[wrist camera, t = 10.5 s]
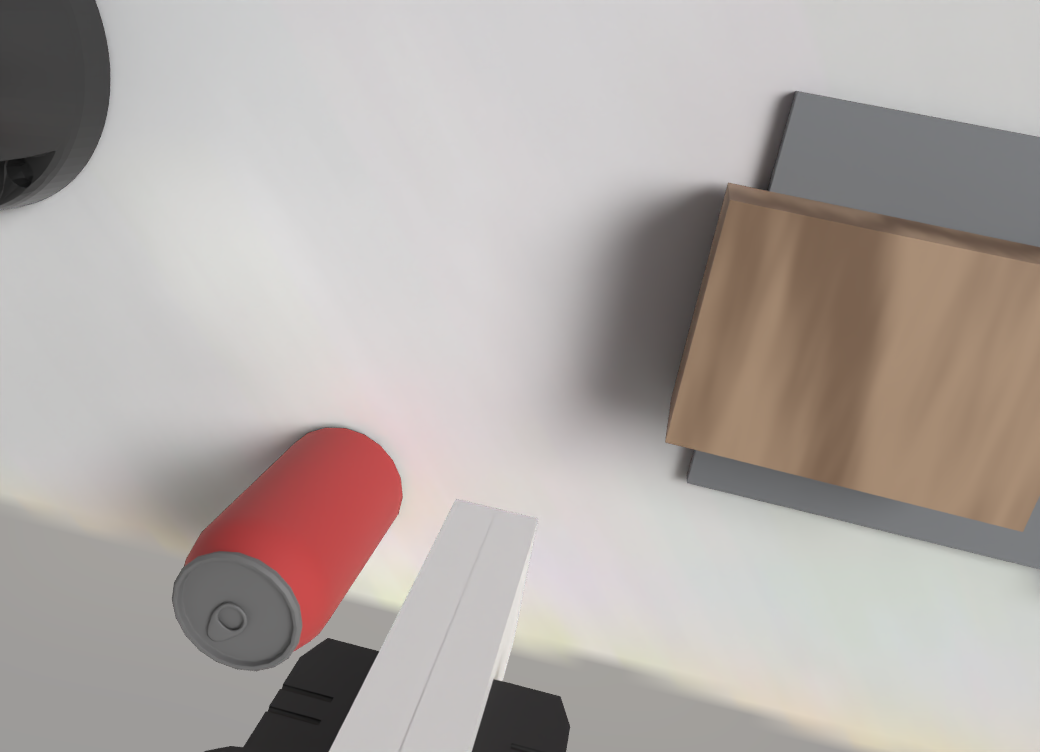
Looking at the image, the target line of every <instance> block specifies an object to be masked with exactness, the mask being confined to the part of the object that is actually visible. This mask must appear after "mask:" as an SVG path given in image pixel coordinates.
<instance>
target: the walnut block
mask: <svg viewBox="0 0 1040 752" xmlns="http://www.w3.org/2000/svg"><path fill="white" fill-rule="evenodd" d="M665 442H666V443H670V444H674V445H678V446H682V447H686V448H690V449H694V450H698V451H702V452H706V453H710V454H714V455H718V456H722V457H726V458H730V459H734V460H738V461H742V462H746V463H750V464H754V465H758V466H762V467H766V468H770V469H774V470H778V471H782V472H786V473H790V474H794V475H798V476H802V477H806V478H810V479H813V480H817V481H821V482H825V483H829V484H833V485H837V486H841V487H845V488H849V489H853V490H857V491H861V492H865V493H869V494H873V495H877V496H881V497H885V498H889V499H893V500H897V501H901V502H905V503H909V504H913V505H917V506H921V507H925V508H929V509H933V510H937V511H941V512H945V513H949V514H953V515H957V516H961V517H965V518H969V519H973V520H977V521H981V522H985V523H989V524H993V525H997V526H1001V527H1005V528H1009V529H1013V530H1017V531H1021V532H1023V531H1024V529H1025V526H1026V524H1027V522H1028V520H1029V518H1030V516H1031V513H1032V511H1033V509H1034V507H1035V505H1036V503H1037V501H1038V498H1039V496H1040V247H1036V246H1032V245H1027V244H1022V243H1017V242H1012V241H1007V240H1003V239H998V238H993V237H988V236H983V235H978V234H974V233H969V232H964V231H959V230H954V229H949V228H945V227H940V226H935V225H930V224H925V223H920V222H916V221H911V220H906V219H901V218H896V217H891V216H887V215H882V214H877V213H872V212H867V211H862V210H858V209H853V208H848V207H843V206H838V205H833V204H829V203H824V202H819V201H814V200H809V199H804V198H800V197H795V196H790V195H785V194H780V193H775V192H771V191H766V190H761V189H756V188H751V187H746V186H742V185H737V184H732V183H728V185H727V189H726V193H725V196H724V200H723V204H722V208H721V212H720V215H719V219H718V223H717V227H716V230H715V234H714V238H713V242H712V246H711V249H710V253H709V257H708V261H707V265H706V268H705V272H704V276H703V280H702V283H701V287H700V291H699V295H698V299H697V302H696V306H695V310H694V314H693V318H692V321H691V325H690V329H689V333H688V336H687V340H686V344H685V348H684V352H683V355H682V359H681V363H680V367H679V371H678V374H677V378H676V382H675V386H674V390H673V393H672V397H671V403H670V411H669V418H668V426H667V433H666V440H665Z"/></svg>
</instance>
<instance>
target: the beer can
mask: <svg viewBox="0 0 1040 752" xmlns="http://www.w3.org/2000/svg"><path fill="white" fill-rule="evenodd" d="M402 497H403V496H402V486H401V478H400V475H399V473H398V471H397V469H396V466H395V464H394V462H393V460H392V459H391V458H390V456H389V455H388V454H387V453H386V452H385V451H384V449H383V448H382V447H381V446H380V445H379V444H377V443H376V442H374V441H373V440H371V439H370V438H368V437H367V436H366V435H364V434H361V433H358V432H355V431H352V430H349V429H346V428H323V429H320V430H316V431H313V432H309V433H307V434H306V435H305V436H304V437H302V438H301V439H300V440H298V441H297V442H296V443H294V444H293V445H292V446H291V447H290V448H289V449H288V450H287V451H286V452H285V453H284V454H283V455H282V456H281V457H280V458H279V459H278V460H277V461H276V462H274V463H273V464H272V465H271V466H270V467H269V468H268V469H267V470H266V471H265V472H264V473H263V474H262V475H261V476H260V477H259V478H258V479H257V480H256V481H255V482H254V483H253V484H251V485H250V486H249V487H248V488H247V489H246V490H245V491H244V492H243V493H242V494H241V495H240V496H239V497H238V498H237V499H236V500H235V501H234V502H233V503H232V504H231V505H229V506H228V507H227V508H226V509H225V510H224V511H223V512H222V513H221V514H220V515H219V516H218V517H217V518H216V519H215V520H214V521H213V522H212V523H211V524H210V525H209V526H207V527H206V528H205V529H204V530H203V531H202V532H201V534H200V536H199V538H198V539H197V541H196V543H195V544H194V546H193V548H192V550H191V551H190V553H189V555H188V557H187V558H186V561H185V565H184V567H183V568H182V570H181V572H180V573H179V575H178V577H177V578H176V580H175V582H174V588H173V595H172V602H173V607H174V612H175V616H176V619H177V621H178V622H179V624H180V626H181V628H182V630H183V632H184V633H185V635H186V637H187V638H188V639H189V640H190V641H191V642H192V643H193V644H194V645H195V646H196V647H197V648H198V649H199V650H200V651H201V652H203V653H204V654H206V655H207V656H208V657H210V658H212V659H213V660H215V661H216V662H218V663H221V664H224V665H226V666H229V667H232V668H235V669H240V670H250V671H259V670H263V669H269V668H273V667H275V666H277V665H278V664H280V663H282V662H283V661H285V660H286V659H288V658H289V656H290V655H291V654H292V652H294V651H295V650H297V649H299V648H300V647H302V646H303V645H305V644H307V643H308V642H310V641H311V640H312V639H313V638H315V637H316V636H317V635H318V634H319V633H320V632H321V630H322V629H323V628H324V626H325V625H326V623H327V622H328V621H329V619H330V618H331V616H332V614H333V613H334V612H335V610H336V608H337V607H338V605H339V604H340V602H341V601H342V599H343V598H344V596H345V595H346V593H347V592H348V590H349V589H350V587H351V585H352V584H353V582H354V581H355V579H356V578H357V576H358V575H359V573H360V572H361V570H362V569H363V567H364V566H365V564H366V563H367V561H368V559H369V558H370V556H371V555H372V553H373V552H374V550H375V549H376V547H377V546H378V544H379V543H380V541H381V540H382V538H383V536H384V535H385V533H386V532H387V530H388V529H389V527H390V526H391V524H392V523H393V521H394V520H395V518H396V517H397V515H398V514H399V510H400V506H401V501H402Z"/></svg>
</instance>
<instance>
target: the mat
mask: <svg viewBox="0 0 1040 752" xmlns="http://www.w3.org/2000/svg"><path fill="white" fill-rule="evenodd" d="M768 191H771V192H775V193H780V194H785V195H790V196H795V197H800V198H804V199H809V200H814V201H819V202H824V203H829V204H833V205H838V206H843V207H848V208H853V209H858V210H862V211H867V212H872V213H877V214H882V215H887V216H891V217H896V218H901V219H906V220H911V221H916V222H920V223H925V224H930V225H935V226H940V227H945V228H949V229H954V230H959V231H964V232H969V233H974V234H978V235H983V236H988V237H993V238H998V239H1003V240H1007V241H1012V242H1017V243H1022V244H1027V245H1032V246H1036V247H1040V137H1036V136H1031V135H1025V134H1020V133H1015V132H1009V131H1004V130H999V129H994V128H988V127H983V126H978V125H973V124H967V123H962V122H957V121H952V120H946V119H941V118H936V117H930V116H925V115H920V114H915V113H909V112H904V111H899V110H894V109H888V108H883V107H878V106H872V105H867V104H862V103H857V102H851V101H846V100H841V99H836V98H830V97H825V96H820V95H814V94H809V93H804V92H799V91H796V92H795V95H794V99H793V102H792V106H791V109H790V113H789V117H788V120H787V124H786V127H785V131H784V134H783V138H782V141H781V145H780V148H779V152H778V155H777V159H776V163H775V166H774V170H773V173H772V177H771V180H770V184H769V187H768ZM687 483H690V484H694V485H698V486H702V487H706V488H710V489H714V490H719V491H723V492H727V493H731V494H735V495H739V496H743V497H747V498H751V499H755V500H759V501H763V502H768V503H772V504H776V505H780V506H784V507H788V508H792V509H796V510H800V511H804V512H808V513H812V514H817V515H821V516H825V517H829V518H833V519H837V520H841V521H845V522H849V523H853V524H857V525H861V526H866V527H870V528H874V529H878V530H882V531H886V532H890V533H894V534H898V535H902V536H906V537H910V538H915V539H919V540H923V541H927V542H931V543H935V544H939V545H943V546H947V547H951V548H955V549H959V550H964V551H968V552H972V553H976V554H980V555H984V556H988V557H992V558H996V559H1000V560H1004V561H1008V562H1013V563H1017V564H1021V565H1025V566H1029V567H1033V568H1037V569H1040V496H1039V498H1038V501H1037V503H1036V505H1035V507H1034V509H1033V511H1032V513H1031V516H1030V518H1029V520H1028V522H1027V524H1026V526H1025V529H1024V531H1023V532H1021V531H1017V530H1013V529H1009V528H1005V527H1001V526H997V525H993V524H989V523H985V522H981V521H977V520H973V519H969V518H965V517H961V516H957V515H953V514H949V513H945V512H941V511H937V510H933V509H929V508H925V507H921V506H917V505H913V504H909V503H905V502H901V501H897V500H893V499H889V498H885V497H881V496H877V495H873V494H869V493H865V492H861V491H857V490H853V489H849V488H845V487H841V486H837V485H833V484H829V483H825V482H821V481H817V480H813V479H810V478H806V477H802V476H798V475H794V474H790V473H786V472H782V471H778V470H774V469H770V468H766V467H762V466H758V465H754V464H750V463H746V462H742V461H738V460H734V459H730V458H726V457H722V456H718V455H714V454H710V453H706V452H702V451H698V450H694V453H693V456H692V460H691V464H690V467H689V471H688V474H687Z"/></svg>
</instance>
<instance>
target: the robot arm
mask: <svg viewBox="0 0 1040 752" xmlns="http://www.w3.org/2000/svg"><path fill="white" fill-rule="evenodd" d="M109 96H110V62H109V53H108V46H107V40H106V36H105V31H104V27H103V23H102V20H101V16H100V13H99V10H98V7H97V5H96V2H95V0H0V210H5V209H10V208H15V207H19V206H24V205H28V204H32V203H35V202H38V201H41V200H43V199H45V198H48V197H50V196H52V195H53V194H55V193H57V192H58V191H60V190H61V189H62V188H64V187H65V186H67V185H68V184H69V183H70V182H71V181H72V180H73V179H74V178H75V177H76V176H77V175H78V174H79V173H80V172H81V170H82V169H83V168H84V166H85V165H86V164H87V162H88V161H89V159H90V157H91V156H92V154H93V152H94V150H95V148H96V146H97V144H98V141H99V139H100V137H101V134H102V131H103V128H104V124H105V120H106V116H107V111H108V105H109ZM537 524H538V518H534V517H530V516H526V515H522V514H517V513H513V512H509V511H505V510H501V509H497V508H492V507H488V506H484V505H480V504H476V503H472V502H467V501H463V500H459V499H456V500H455V502H454V504H453V506H452V508H451V510H450V512H449V514H448V516H447V518H446V520H445V522H444V524H443V526H442V528H441V530H440V532H439V534H438V536H437V538H436V540H435V542H434V544H433V546H432V548H431V550H430V552H429V554H428V556H427V558H426V560H425V562H424V564H423V566H422V568H421V570H420V572H419V574H418V576H417V578H416V580H415V582H414V584H413V586H412V588H411V590H410V592H409V594H408V596H407V597H406V599H405V601H404V603H403V605H402V607H401V609H400V611H399V613H398V615H397V617H396V619H395V621H394V623H393V625H392V627H391V629H390V631H389V633H388V636H387V637H386V639H385V641H384V643H383V645H382V647H381V649H380V651H376V650H372V649H368V648H364V647H360V646H356V645H353V644H349V643H345V642H341V641H337V640H334V639H330V638H327V639H326V640H324V641H323V642H321V643H320V644H318V645H317V646H316V647H314V648H313V649H312V650H310V651H308V652H307V653H306V654H304V655H303V656H301V657H300V658H299V660H298V661H297V663H296V664H295V666H294V668H293V669H292V671H291V673H290V674H289V676H288V677H287V679H286V680H285V682H284V684H283V687H282V689H280V690H279V691H278V693H277V695H276V696H275V698H274V699H273V701H272V703H271V704H270V706H269V710H268V712H265V714H264V715H263V717H262V719H261V720H260V722H259V723H258V725H257V727H256V728H255V730H254V731H253V733H252V734H251V736H250V738H249V739H248V741H247V742H246V744H245V745H244V747H234V746H229V747H224V748H218V749H214V750H209V751H205V752H566V748H567V742H568V735H569V730H570V725H569V722H568V719H567V716H566V712H565V709H564V706H563V703H562V700H561V697H560V696H556V695H553V694H549V693H545V692H541V691H538V690H533V689H530V688H526V687H522V686H518V685H514V684H511V683H507V682H503V677H504V674H505V670H506V666H507V663H508V660H509V656H510V653H511V649H512V646H513V642H514V637H515V632H516V627H517V622H518V617H519V613H520V608H521V603H522V598H523V593H524V588H525V583H526V578H527V573H528V568H529V563H530V558H531V553H532V548H533V543H534V539H535V534H536V529H537Z"/></svg>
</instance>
